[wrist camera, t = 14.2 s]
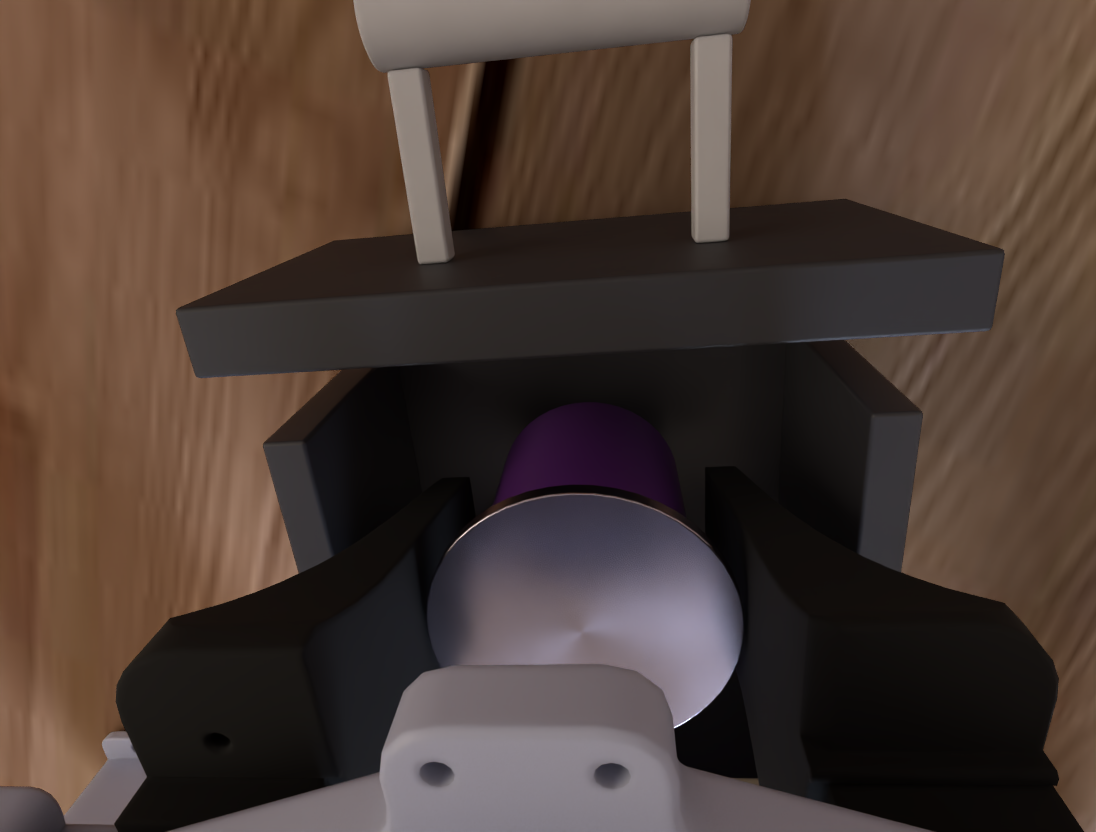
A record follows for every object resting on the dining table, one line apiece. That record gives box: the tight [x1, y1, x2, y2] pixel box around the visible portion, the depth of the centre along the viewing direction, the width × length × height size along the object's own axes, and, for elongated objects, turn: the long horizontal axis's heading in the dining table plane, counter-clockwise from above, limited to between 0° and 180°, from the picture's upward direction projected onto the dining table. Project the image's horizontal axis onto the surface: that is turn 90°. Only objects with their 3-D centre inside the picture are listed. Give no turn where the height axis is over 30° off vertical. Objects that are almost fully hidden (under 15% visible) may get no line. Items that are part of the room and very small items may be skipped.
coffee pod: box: [426, 402, 745, 728], centre depth 13 cm, size 5×5×5 cm
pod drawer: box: [176, 0, 1005, 778], centre depth 15 cm, size 17×12×7 cm
